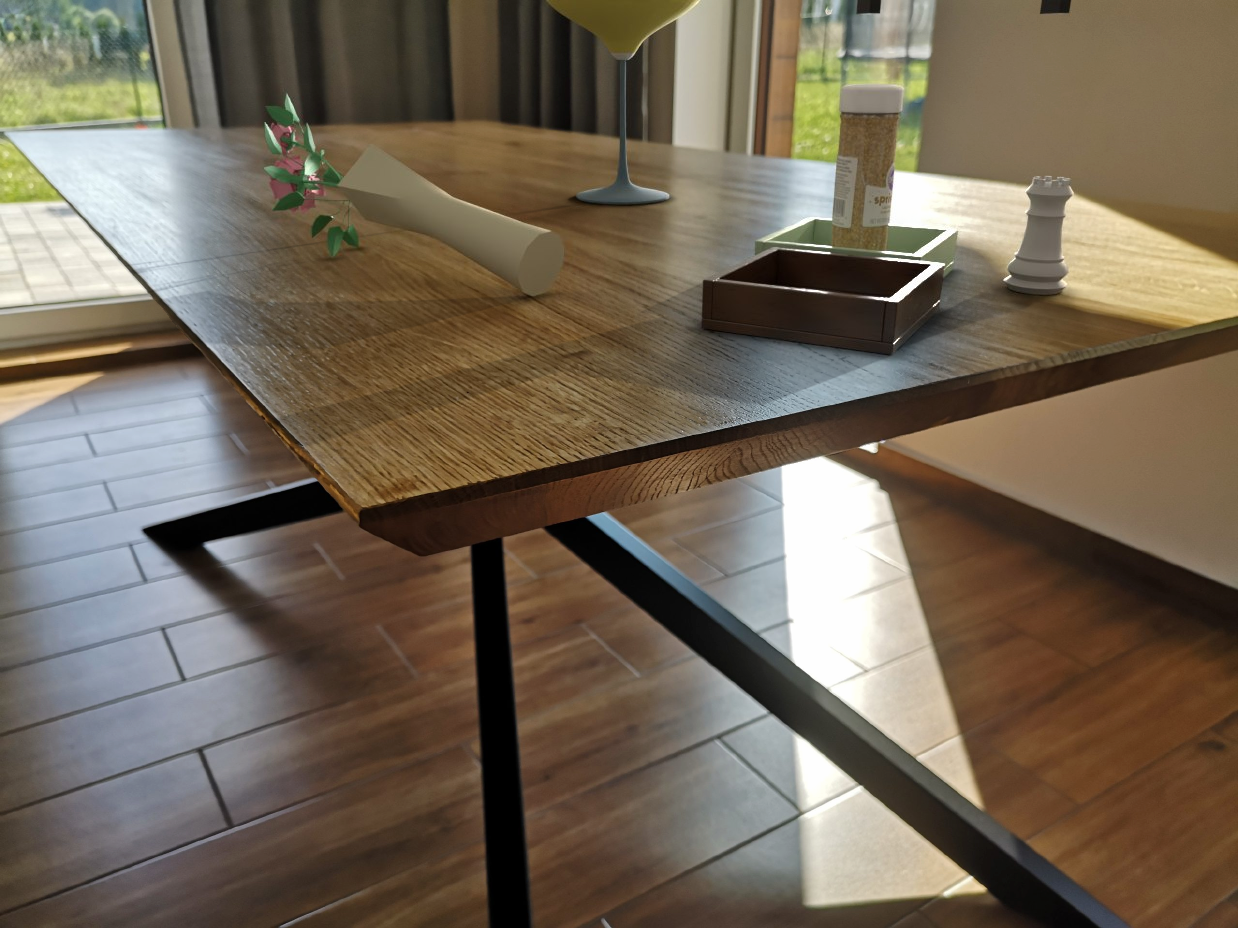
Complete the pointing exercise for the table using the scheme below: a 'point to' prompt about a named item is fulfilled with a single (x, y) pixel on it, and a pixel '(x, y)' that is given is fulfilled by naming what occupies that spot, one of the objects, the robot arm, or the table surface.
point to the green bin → (900, 245)
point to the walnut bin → (824, 298)
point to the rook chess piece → (1042, 240)
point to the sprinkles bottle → (865, 165)
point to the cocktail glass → (622, 69)
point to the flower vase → (409, 208)
